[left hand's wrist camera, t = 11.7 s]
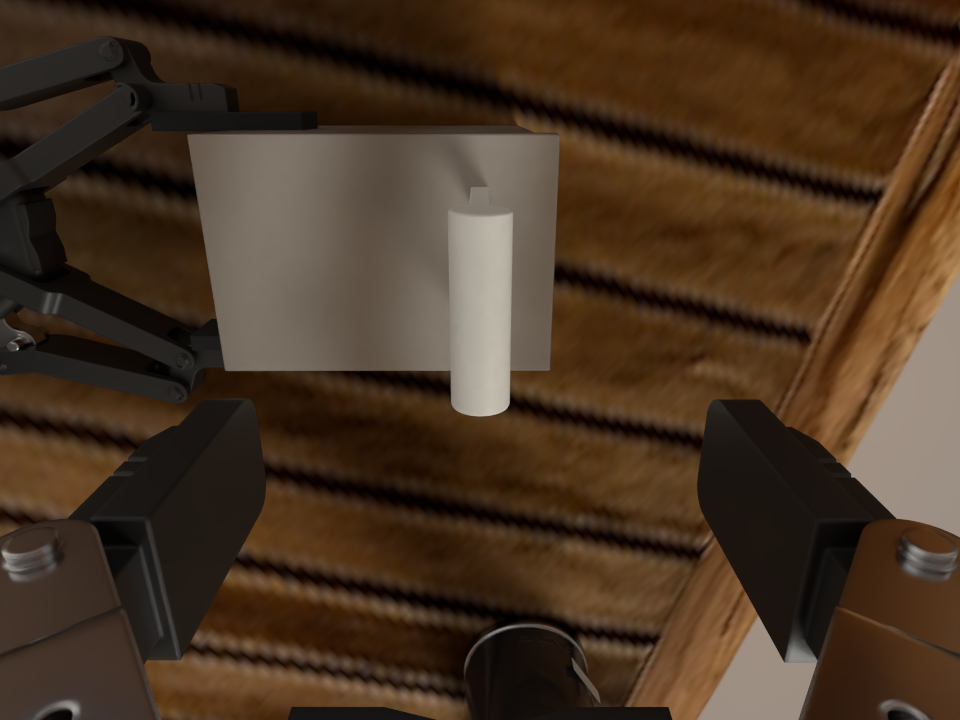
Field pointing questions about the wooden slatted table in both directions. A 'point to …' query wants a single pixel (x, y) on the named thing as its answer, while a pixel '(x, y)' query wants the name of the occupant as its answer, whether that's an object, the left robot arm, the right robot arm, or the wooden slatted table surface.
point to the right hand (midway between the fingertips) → (320, 234)
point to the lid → (383, 253)
